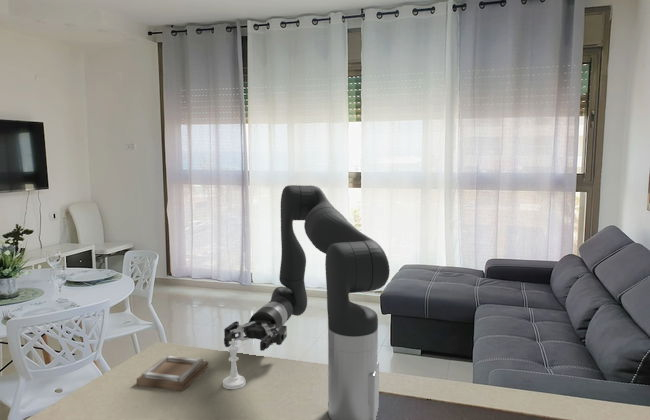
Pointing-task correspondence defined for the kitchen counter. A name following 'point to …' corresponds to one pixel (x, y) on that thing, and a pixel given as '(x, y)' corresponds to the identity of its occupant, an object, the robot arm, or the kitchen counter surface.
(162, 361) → the walnut board
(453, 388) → the kitchen counter surface
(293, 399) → the kitchen counter surface
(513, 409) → the kitchen counter surface
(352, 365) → the robot arm
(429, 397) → the kitchen counter surface
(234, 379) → the chess piece
